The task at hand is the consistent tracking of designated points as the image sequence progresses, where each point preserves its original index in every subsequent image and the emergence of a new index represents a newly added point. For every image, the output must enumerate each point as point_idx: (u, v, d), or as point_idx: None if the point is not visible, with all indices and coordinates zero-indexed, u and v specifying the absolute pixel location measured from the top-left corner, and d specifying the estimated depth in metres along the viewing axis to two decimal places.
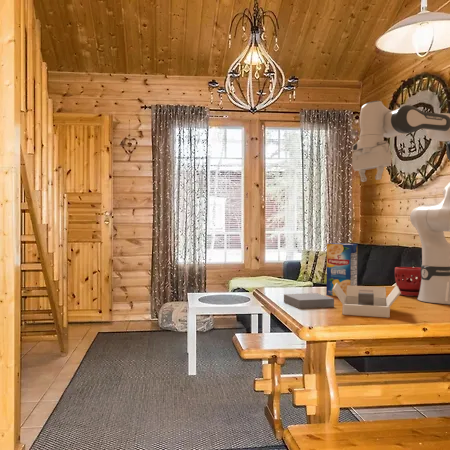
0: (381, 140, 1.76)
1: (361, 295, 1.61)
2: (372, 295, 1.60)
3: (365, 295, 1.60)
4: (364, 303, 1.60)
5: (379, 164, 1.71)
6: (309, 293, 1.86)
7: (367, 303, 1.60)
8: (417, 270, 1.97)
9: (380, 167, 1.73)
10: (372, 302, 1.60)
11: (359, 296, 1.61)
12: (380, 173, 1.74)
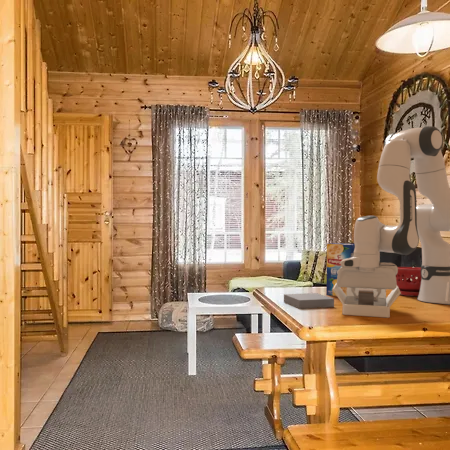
0: None
1: (361, 295, 1.61)
2: (372, 295, 1.60)
3: (365, 295, 1.60)
4: (364, 303, 1.60)
5: (389, 288, 1.62)
6: (309, 293, 1.86)
7: (367, 303, 1.60)
8: (417, 270, 1.97)
9: None
10: (372, 302, 1.60)
11: (359, 296, 1.61)
12: (378, 295, 1.65)
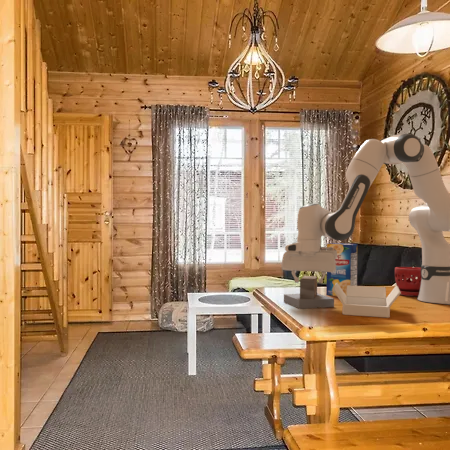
0: None
1: (302, 281, 1.73)
2: (312, 281, 1.72)
3: (306, 281, 1.73)
4: (305, 288, 1.73)
5: (329, 270, 1.74)
6: None
7: (308, 288, 1.72)
8: (417, 270, 1.97)
9: (325, 272, 1.76)
10: (312, 287, 1.72)
11: (301, 282, 1.73)
12: (323, 277, 1.77)
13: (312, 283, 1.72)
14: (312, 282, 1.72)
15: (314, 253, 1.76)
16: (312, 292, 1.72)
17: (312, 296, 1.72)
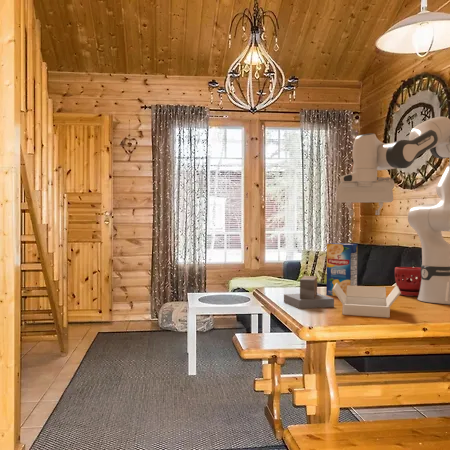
0: None
1: (302, 281, 1.73)
2: (312, 281, 1.72)
3: (306, 281, 1.73)
4: (305, 288, 1.73)
5: (386, 200, 1.70)
6: None
7: (308, 288, 1.72)
8: (417, 270, 1.97)
9: (382, 203, 1.72)
10: (312, 287, 1.72)
11: (301, 282, 1.73)
12: None
13: (312, 283, 1.72)
14: (312, 282, 1.72)
15: (371, 183, 1.72)
16: (312, 292, 1.72)
17: (312, 296, 1.72)
